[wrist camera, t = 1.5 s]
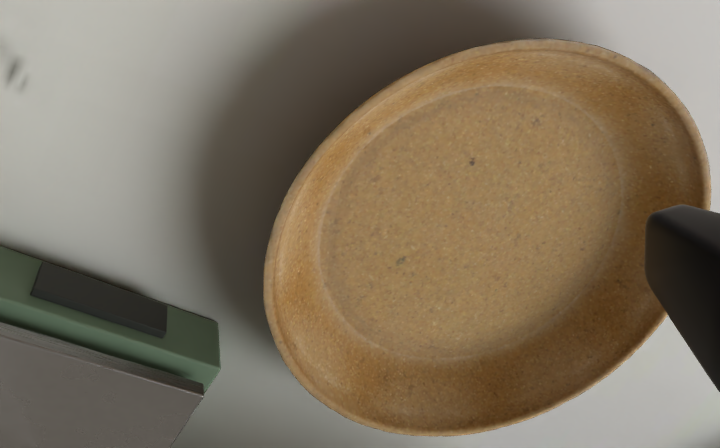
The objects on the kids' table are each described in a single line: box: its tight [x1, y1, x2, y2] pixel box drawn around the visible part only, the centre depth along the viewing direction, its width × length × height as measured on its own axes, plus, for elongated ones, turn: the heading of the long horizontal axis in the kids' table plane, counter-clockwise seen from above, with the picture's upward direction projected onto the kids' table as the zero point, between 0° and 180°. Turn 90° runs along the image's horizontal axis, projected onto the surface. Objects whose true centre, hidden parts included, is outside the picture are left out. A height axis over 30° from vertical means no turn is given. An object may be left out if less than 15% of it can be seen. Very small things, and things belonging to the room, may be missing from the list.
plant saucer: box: [263, 38, 711, 436], centre depth 23 cm, size 15×15×3 cm
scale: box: [0, 246, 221, 393], centre depth 22 cm, size 8×8×2 cm
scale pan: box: [0, 321, 204, 448], centre depth 20 cm, size 7×7×1 cm
